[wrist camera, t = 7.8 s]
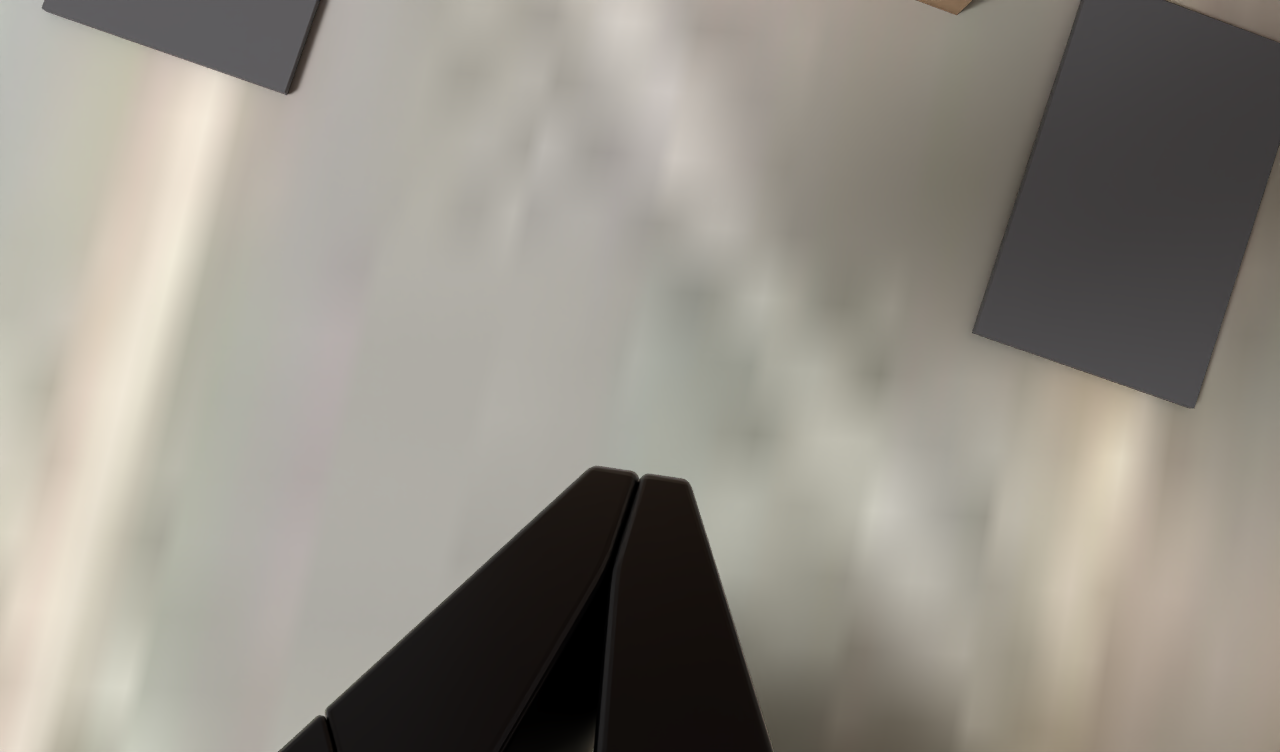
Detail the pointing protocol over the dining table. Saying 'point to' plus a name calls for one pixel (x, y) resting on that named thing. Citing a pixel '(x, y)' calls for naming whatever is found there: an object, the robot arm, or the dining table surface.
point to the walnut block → (948, 5)
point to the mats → (1050, 189)
